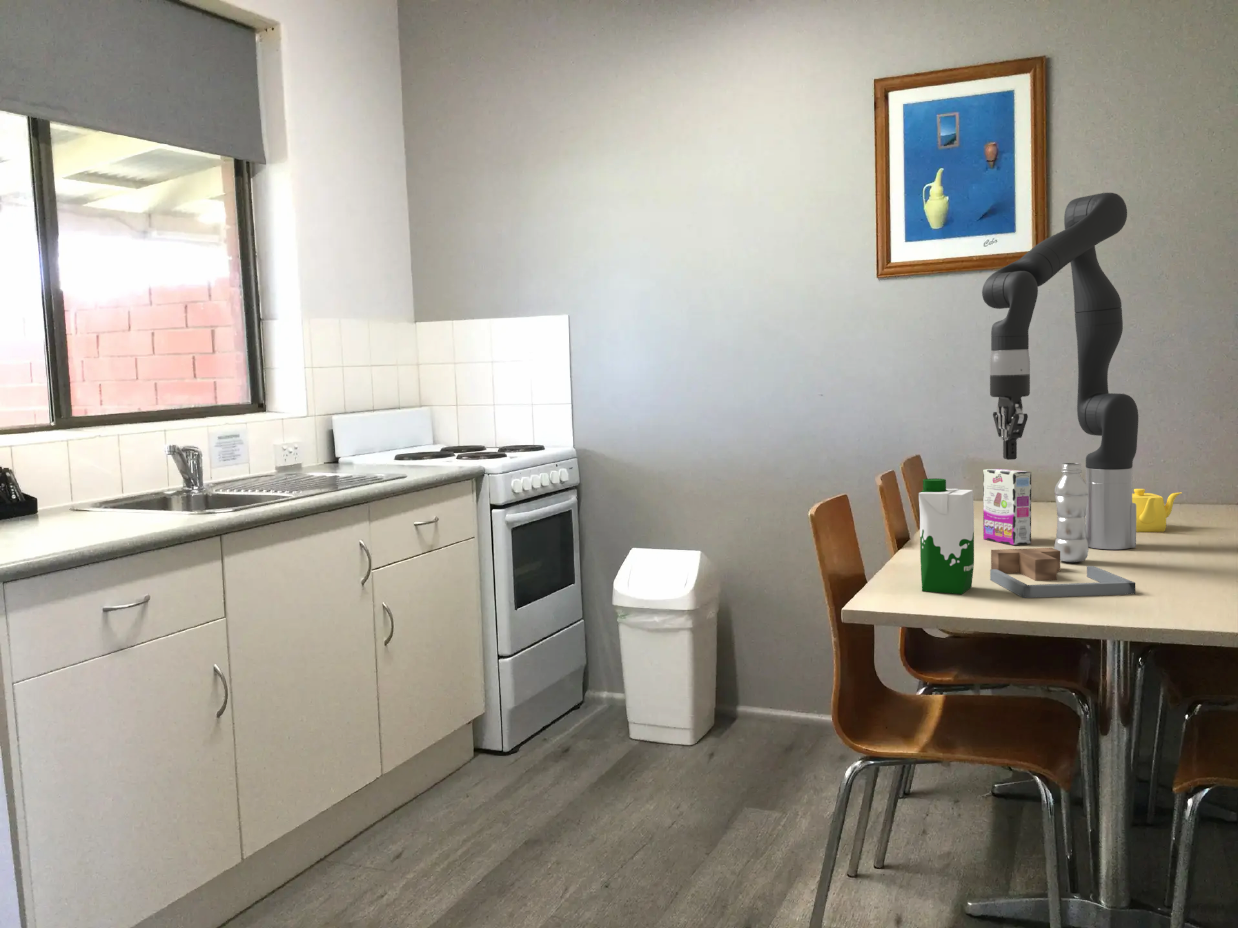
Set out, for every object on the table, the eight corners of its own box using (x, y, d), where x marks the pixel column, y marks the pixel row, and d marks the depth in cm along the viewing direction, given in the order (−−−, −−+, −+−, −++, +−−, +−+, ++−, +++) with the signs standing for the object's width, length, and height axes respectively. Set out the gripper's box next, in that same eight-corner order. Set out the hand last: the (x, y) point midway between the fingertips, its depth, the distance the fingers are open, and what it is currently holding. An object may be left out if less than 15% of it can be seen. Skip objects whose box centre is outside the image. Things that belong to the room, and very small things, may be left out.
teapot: (1153, 535, 244) (1154, 493, 243) (1095, 529, 255) (1095, 489, 254) (1184, 528, 252) (1184, 488, 252) (1126, 523, 264) (1126, 484, 263)
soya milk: (929, 582, 199) (928, 476, 197) (978, 586, 194) (978, 478, 192) (915, 591, 192) (914, 481, 190) (966, 595, 187) (965, 482, 185)
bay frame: (1093, 576, 200) (1093, 565, 200) (1135, 594, 184) (1135, 582, 184) (990, 579, 200) (990, 569, 200) (1023, 597, 184) (1023, 586, 183)
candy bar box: (1032, 544, 237) (1032, 471, 236) (1014, 546, 236) (1014, 472, 234) (1000, 537, 248) (1000, 467, 246) (982, 539, 246) (981, 468, 245)
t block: (1051, 567, 210) (1051, 547, 209) (1078, 579, 198) (1078, 558, 198) (991, 569, 210) (991, 549, 209) (1013, 581, 198) (1013, 560, 197)
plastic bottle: (1087, 559, 217) (1087, 462, 215) (1090, 565, 211) (1090, 465, 209) (1053, 558, 219) (1053, 462, 217) (1054, 564, 213) (1055, 465, 211)
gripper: (1041, 372, 206) (1041, 461, 207) (1016, 372, 219) (1016, 456, 221) (1003, 373, 206) (1003, 462, 207) (979, 373, 219) (980, 457, 221)
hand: (1009, 459), depth 214 cm, fingers closed
